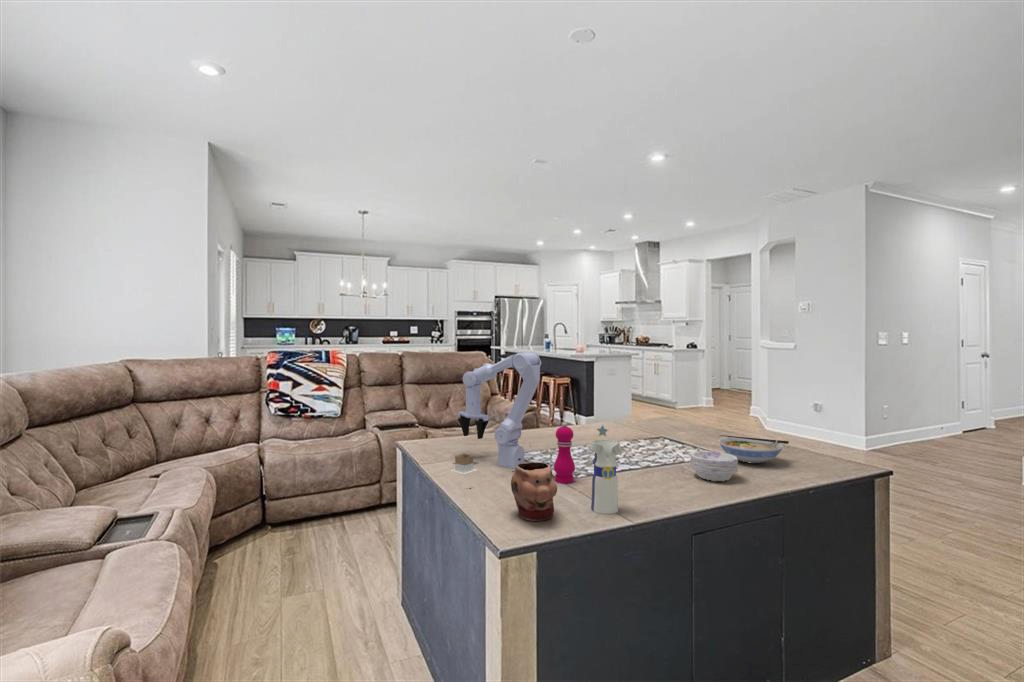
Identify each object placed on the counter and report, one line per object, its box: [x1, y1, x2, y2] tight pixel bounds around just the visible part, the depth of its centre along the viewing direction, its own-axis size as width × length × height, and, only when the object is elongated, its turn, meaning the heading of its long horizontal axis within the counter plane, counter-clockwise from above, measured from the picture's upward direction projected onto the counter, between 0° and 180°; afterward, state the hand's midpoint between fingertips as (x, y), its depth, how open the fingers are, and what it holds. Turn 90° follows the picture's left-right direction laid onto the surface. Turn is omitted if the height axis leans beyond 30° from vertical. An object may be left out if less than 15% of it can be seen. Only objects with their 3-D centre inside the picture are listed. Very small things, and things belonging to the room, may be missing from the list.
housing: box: [454, 453, 474, 473], centre depth 178 cm, size 4×4×5 cm
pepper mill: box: [553, 421, 576, 484], centre depth 170 cm, size 7×7×20 cm
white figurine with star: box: [590, 424, 622, 515], centre depth 143 cm, size 8×9×25 cm
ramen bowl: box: [718, 434, 790, 464], centre depth 195 cm, size 25×23×8 cm
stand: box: [450, 468, 478, 475], centre depth 178 cm, size 7×7×1 cm
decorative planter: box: [510, 461, 558, 522], centre depth 139 cm, size 20×12×14 cm, turn 23°
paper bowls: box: [689, 450, 739, 482], centre depth 174 cm, size 15×15×8 cm
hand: (473, 437), depth 194 cm, fingers open, 7 cm apart
